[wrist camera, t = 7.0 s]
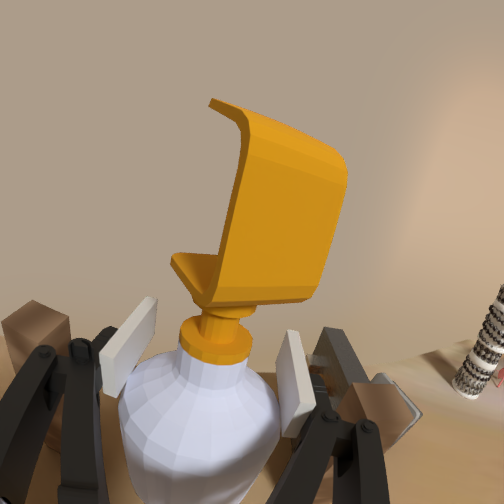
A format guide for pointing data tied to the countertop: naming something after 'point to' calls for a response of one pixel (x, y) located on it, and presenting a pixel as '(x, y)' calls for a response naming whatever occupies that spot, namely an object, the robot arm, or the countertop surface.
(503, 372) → the figurine
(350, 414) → the gate
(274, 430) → the soap bottle
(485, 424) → the countertop surface
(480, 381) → the decorative candle
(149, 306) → the robot arm
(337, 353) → the breaker panel
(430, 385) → the countertop surface
